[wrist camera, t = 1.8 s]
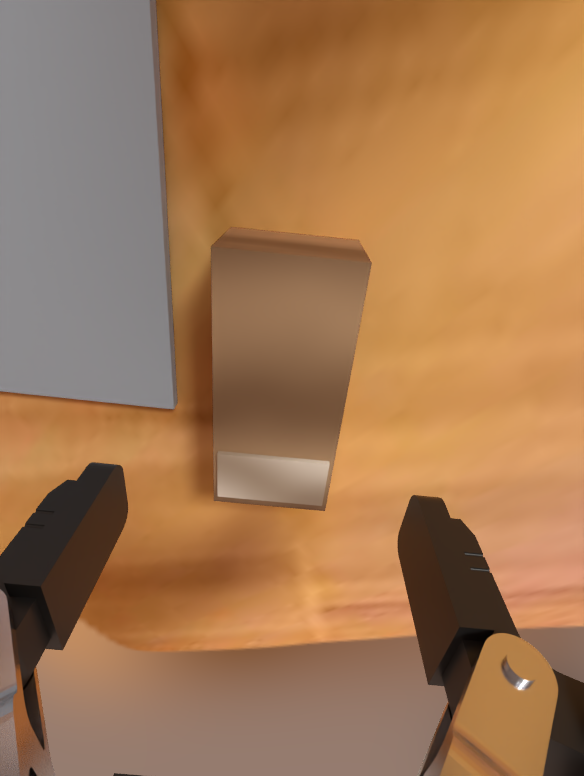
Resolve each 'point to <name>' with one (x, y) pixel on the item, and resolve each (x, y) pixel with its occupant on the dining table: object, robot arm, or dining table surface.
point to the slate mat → (84, 204)
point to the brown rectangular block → (281, 361)
